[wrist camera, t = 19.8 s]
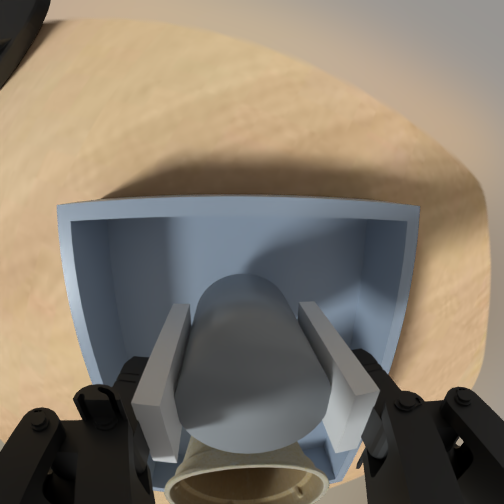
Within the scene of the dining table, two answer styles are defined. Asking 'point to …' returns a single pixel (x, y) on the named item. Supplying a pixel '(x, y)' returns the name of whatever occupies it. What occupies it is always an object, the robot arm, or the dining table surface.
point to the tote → (229, 263)
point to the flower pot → (245, 477)
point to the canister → (249, 370)
